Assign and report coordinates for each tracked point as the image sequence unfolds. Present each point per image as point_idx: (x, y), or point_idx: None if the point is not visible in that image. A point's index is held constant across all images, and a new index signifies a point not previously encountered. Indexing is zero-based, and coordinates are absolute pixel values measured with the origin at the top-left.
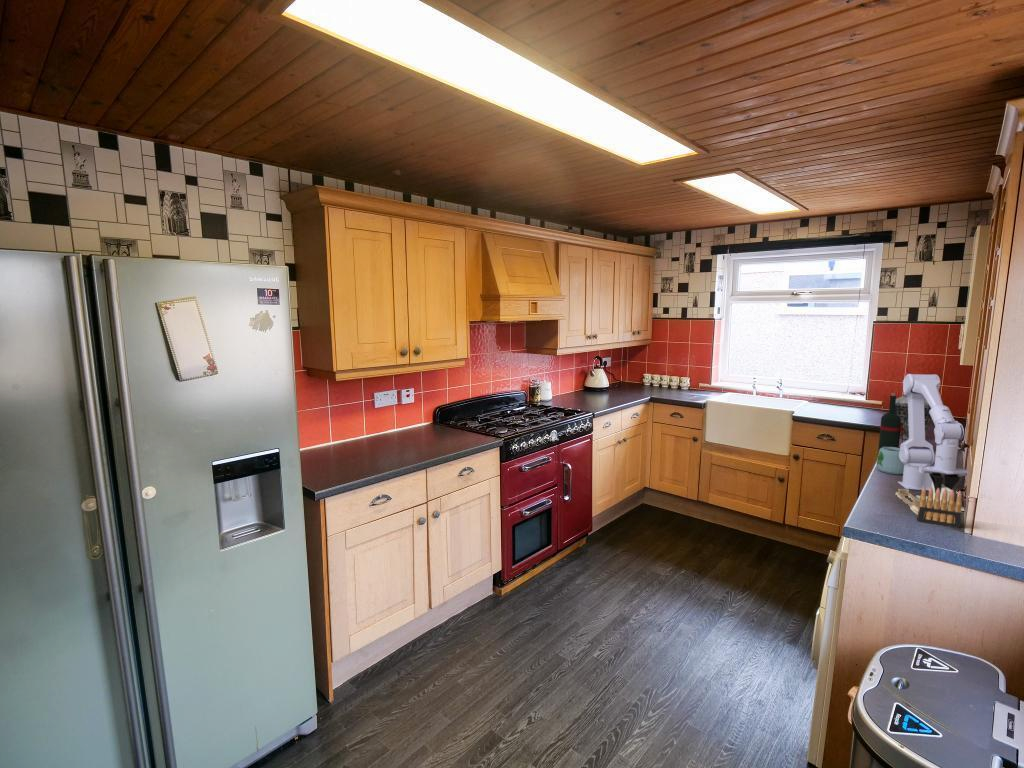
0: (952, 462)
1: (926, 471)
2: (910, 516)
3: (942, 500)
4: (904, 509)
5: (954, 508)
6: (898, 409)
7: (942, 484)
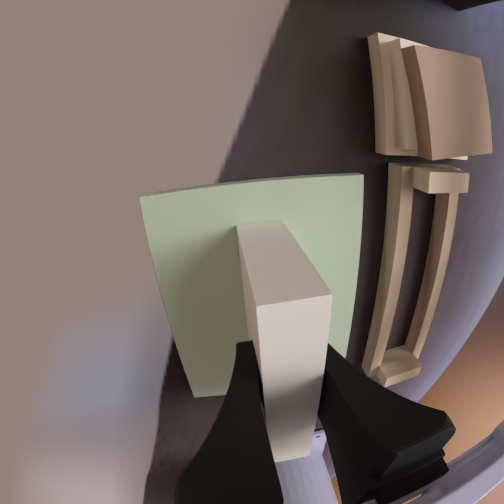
0: None
1: (483, 457)
2: (473, 48)
3: None
4: None
5: (218, 221)
6: None
7: (269, 440)
